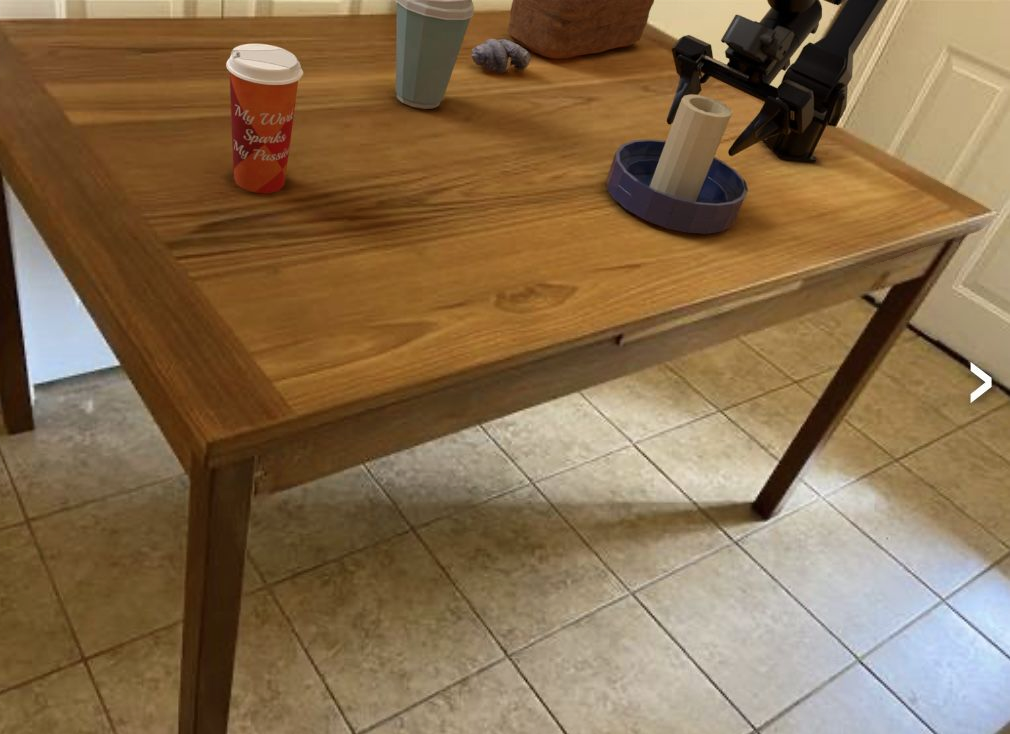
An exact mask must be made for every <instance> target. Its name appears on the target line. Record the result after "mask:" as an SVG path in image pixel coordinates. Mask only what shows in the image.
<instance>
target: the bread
mask: <svg viewBox="0 0 1010 734" xmlns="http://www.w3.org/2000/svg"><path fill="white" fill-rule="evenodd" d="M654 3H655V0H512V2H511V7H510V14H509V24H508V27H507V30H506V31H507V33H508V35H509V37H510V38H511V39H512V40H513V41H514V42H515V43H516V44H518V45H519V46H521V47H522V48H524V49H526V50H529V51H531V52H533V53H536V54H537V55H541V56H543V57H546V58H549V59H554V60H565V59H570V58H574V57H579V56H582V55H583V56H584V55H589V54H599V53H602V52H603V53H604V52H606V51H608V50H613V49H617V48H625V47H626V48H627V47H629V46H632V45H633V44H635V43H637V42H638V41H640V40H641V37H642V35H643V33H644V31H645V28H646V26H647V23H648V20H649V15H650V11H651V9H652V6H653V5H654Z"/></svg>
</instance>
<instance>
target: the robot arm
mask: <svg viewBox="0 0 1010 734" xmlns="http://www.w3.org/2000/svg"><path fill="white" fill-rule="evenodd" d="M823 1H824V2H826V3H828V4H829V3H830V4H832V5H834V6H835V5H836V6H840V5H842V4H843V3H844V5H843V7H842V8H841V10H840V12H839V13H838V14H837V17H836V18H835V19H834V21H833V23H832V24H831V26H830V28H829V29H828V31H827V33H826V34H825V35H824V37H822V38H820V39H819V40H818V41H816V42H814V43H813V42H811V41H810V42H808V43H806V44H805V45H804V46H803V47H802V49H801V51H800V53H799V54H798V56H797V58H796V59H795V61H794V62H793V63H791V58H792V57H793V56H794V54H795V53H796V52H797V51H798V50H799V48H800V47H801V46H802V44H803V43H804V42H805V40H806V39H807V38H808V36H809V35H810V34H812V35H815V34H816V33H817V31H818V28H819V26H820V21H821V20H822V18H823V6H822V2H821V1H820V0H766V2H767V4H768V5H769V7H770V8H769V10H768V11H766V14H765V15H764V16H763V17H762V18H761V20H760V21H759V22H758V21H756V20H752V19H749V18H747V17H744V16H742V15H740V14H735V15H734V16H733V18H732V20H731V22H730V24H729V25H728V27H727V29H726V31H725V32H724V34H723V35H722V37H721V39H720V42H721V43H722V44H726V46H727V47H726V49H725V51H724V54H725V58H726V59H728V61H727V63H724V62H722V61H720V60H717V59H715V58H714V55H713V48H712V44H710V43H708V42H706V41H704V40H702V39H699V38H697V37H695V36H693V35H690V34H686V35H683V36H681V37H680V38H679V39H678V40H677V41H675V42H676V43H674V45H673V46H672V47H671V53H672V58H673V62H674V67H675V71H676V74H677V75H678V76H679V80H678V83H677V84H678V85H677V89H676V91H675V95H674V97H673V99H672V102H671V105H670V108H669V111H668V115H667V118H666V123H667V124H668V125H671V126H672V124H673V121H674V118H675V116H676V113H677V110H678V107H679V105H680V102H681V99H682V98H683V97H684V96H685V95H700V93H701V92H702V91H703V90H702V84H705V83H707V81H708V80H709V79H710V77H711V78H713V79H715V80H717V81H719V82H722V83H723V84H725V85H728V86H730V87H732V88H734V89H736V90H739V91H741V92H743V93H744V94H747V95H749V96H751V97H754V98H755V99H758V100H759V101H761V102H764V103H763V105H762V107H761V108H760V110H759V112H758V113H757V115H756V116H755V117H754V118H753V119H752V120H751V122H750V123H749V124H748V125H747V126H746V127H745V129H744V130H743V131H742V132H741V133H740V134H739V135H738V137H737V138H736V139H735V140H734V141H733V143H732V144H731V146H730V147H729V149H728V151H727V152H728V153H727V154H728V156H730V157H733V156H735V155H737V154H739V153H741V152H742V151H745V150H747V149H748V148H750V147H752V146H754V145H756V144H758V143H760V142H761V141H762V142H763V143H764V144H765V145H766V146H767V147H768V148H769V150H771V151H772V152H773V153H774V154H775V155H776V156H777V157H778V158H779V159H781V160H788V161H799V162H810V163H817V161H818V157H816V156H815V154H814V152H815V150H816V148H817V146H818V144H819V142H820V140H821V138H822V136H823V134H824V132H825V129H826V128H827V127H837V126H838V124H839V122H840V120H841V118H842V117H843V116H844V113H845V111H846V109H847V104H848V103H847V102H848V89H849V84H850V82H851V81H852V78H853V71H854V70H853V68H854V67H853V66H854V55H855V53H856V51H857V49H859V46H860V44H861V43H862V41H863V40H864V38H865V37H866V36H867V34H868V32H869V30H870V29H871V28H872V26H873V24H874V22H875V21H876V19H877V17H878V16H879V15H880V13H881V11H882V10H883V8H884V6H885V5H886V3H887V2H888V0H823ZM781 71H784V74H783V76H782V79H781V83H780V84H779V85H778V86H777V87H776V86H774V85H772V82H773V81H774V80H775V78H776V77H777V76H778V75H779V74H780V72H781Z"/></svg>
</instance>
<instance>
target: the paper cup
mask: <svg viewBox="0 0 1010 734" xmlns="http://www.w3.org/2000/svg"><path fill="white" fill-rule="evenodd" d="M225 67H226V69H227V71H229V93H230V123H231V148H232V167H233V168H232V169H233V179H234V182H235V184H236V185H237V186H238V187H240V188H241V189H243V190H245V191H248V192H252V193H256V194H271V193H275V192H278V191H280V190H282V188H284V186H285V181H286V175H287V171H288V161H289V154H290V147H291V140H292V134H293V133H292V132H293V124H294V119H295V117H294V116H295V108H296V101H297V93H298V88H299V87H298V86H299V80H300V79H302V77H303V76H304V70H303V69H302V65H301V63H300V61H299V60H298V58H297V56H296V55H294V53H292V52H291V51H289V50H286V49H285V48H283V47H280V46H276V45H271V44H265V43H246V44H245V43H244V44H240V45H237V46H235V47H234V48H233V49H232V50H231V53H230V57H229V58H228V59H227V61H226V63H225Z"/></svg>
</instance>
